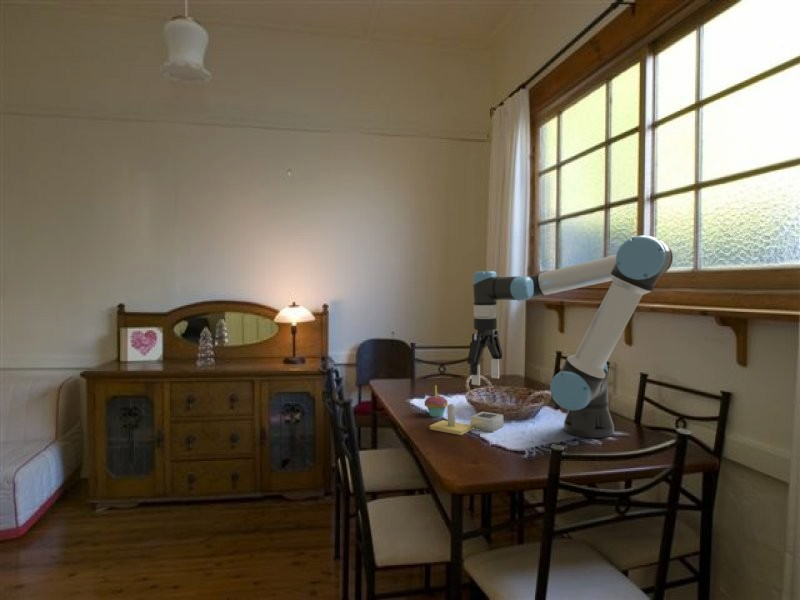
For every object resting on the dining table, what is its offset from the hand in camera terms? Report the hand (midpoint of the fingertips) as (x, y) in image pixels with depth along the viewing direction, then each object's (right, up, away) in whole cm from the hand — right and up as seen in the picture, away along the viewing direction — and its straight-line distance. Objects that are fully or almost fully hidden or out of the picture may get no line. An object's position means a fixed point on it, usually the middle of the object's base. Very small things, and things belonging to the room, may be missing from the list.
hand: (485, 381), depth 168 cm
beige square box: (0, -16, 0) cm, 16 cm away
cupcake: (-15, -16, +18) cm, 28 cm away
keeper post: (-12, -16, 0) cm, 20 cm away
